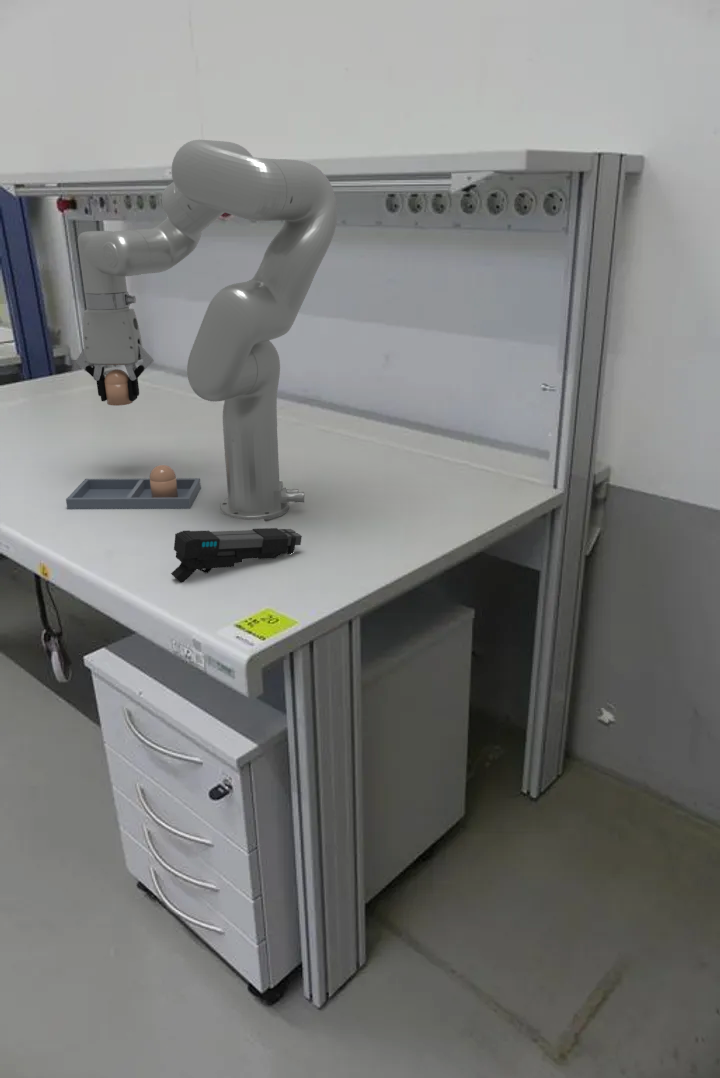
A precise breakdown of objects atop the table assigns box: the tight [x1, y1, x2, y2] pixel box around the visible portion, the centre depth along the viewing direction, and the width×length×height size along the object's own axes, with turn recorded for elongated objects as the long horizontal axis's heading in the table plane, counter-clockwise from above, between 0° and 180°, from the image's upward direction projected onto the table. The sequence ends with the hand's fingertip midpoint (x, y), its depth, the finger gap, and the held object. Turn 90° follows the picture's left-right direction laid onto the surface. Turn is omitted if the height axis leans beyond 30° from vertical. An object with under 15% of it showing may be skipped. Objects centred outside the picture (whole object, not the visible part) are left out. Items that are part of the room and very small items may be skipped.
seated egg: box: [149, 464, 178, 498], centre depth 152 cm, size 5×5×6 cm
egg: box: [104, 368, 134, 407], centre depth 155 cm, size 5×5×6 cm
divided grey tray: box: [65, 477, 202, 510], centre depth 153 cm, size 22×12×2 cm, turn 90°
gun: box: [170, 527, 303, 584], centre depth 126 cm, size 4×20×10 cm, turn 124°
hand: (119, 398), depth 156 cm, fingers closed on egg, 4 cm apart
